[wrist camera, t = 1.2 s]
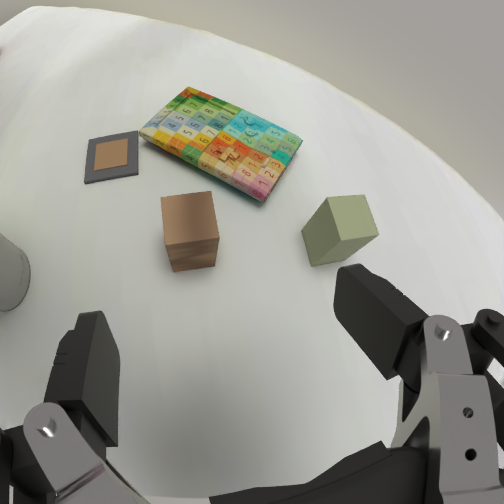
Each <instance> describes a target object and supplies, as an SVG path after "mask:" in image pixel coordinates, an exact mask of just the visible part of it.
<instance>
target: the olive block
mask: <svg viewBox="0 0 504 504" xmlns="http://www.w3.org/2000/svg"><path fill="white" fill-rule="evenodd" d="M301 231H302V235H303V238H304V242H305V245H306V249H307V253H308V256H309V260H310V264H311V266H316V265H322V264H327V263H333V262H338V261H344V260H346V259H347V258H348V257H350V256H351V255H352V254H354V253H355V252H357V251H358V250H359V249H361V248H362V247H363V246H365V245H366V244H367V243H369V242H370V241H371V240H373V239H374V238H375V237H377V236H378V235H379V233H378V230H377V227H376V224H375V222H374V219H373V216H372V213H371V211H370V208H369V205H368V203H367V200H366V197H365V195H351V196H337V197H327V198H326V199H325V201H324V202H323V203H322V204H321V206H320V207H319V208H318V210H317V211H316V212H315V214H314V215H313V216H312V217H311V219H310V220H309V221H308V223H307V224H306V225H305V227H304V228H303V229H302V230H301Z"/></svg>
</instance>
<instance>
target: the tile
mask: <svg viewBox="0 0 504 504" xmlns="http://www.w3.org/2000/svg"><path fill="white" fill-rule="evenodd" d="M133 175H138V131H132V132H126V133H120V134H115V135H109V136H104V137H99V138H95V139H90V140H89V143H88V150H87V158H86V167H85V178H84V183H85V184H89V183H94V182H99V181H105V180H110V179H116V178H121V177H127V176H133Z"/></svg>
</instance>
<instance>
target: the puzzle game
mask: <svg viewBox="0 0 504 504" xmlns="http://www.w3.org/2000/svg"><path fill="white" fill-rule="evenodd" d="M139 134H140V136H141V137H142V138H143V139H145V140H147V141H150V142H152V143H154V144H156V145H158V146H160V147H161V148H162V149H163V150H165V151H167V152H169V153H171V154H173V155H175V156H177V157H179V158H181V159H183V160H185V161H186V162H188V163H190V164H192V165H194V166H196V167H198V168H200V169H202V170H204V171H206V172H207V173H209V174H211V175H213V176H215V177H217V178H219V179H220V180H222V181H224V182H226V183H228V184H230V185H232V186H233V187H235V188H237V189H239V190H241V191H242V192H244V193H246V194H248V195H250V196H251V197H253V198H255V199H257V200H259V201H261V202H265V200H266V199H267V197H268V196H269V194H270V192H271V191H272V189H273V188H274V186H275V185H276V183H277V181H278V180H279V178H280V177H281V175H282V174H283V172H284V170H285V169H286V167H287V166H288V164H289V163H290V161H291V159H292V158H293V156H294V155H295V153H296V152H297V150H298V149H299V147H300V145H301V143H302V141H303V140H302V139H301V138H300V137H298V136H296V135H295V134H293V133H291V132H289V131H287V130H285V129H283V128H281V127H279V126H277V125H275V124H273V123H271V122H269V121H267V120H265V119H263V118H261V117H258V116H256V115H254V114H252V113H250V112H248V111H245V110H243V109H241V108H239V107H237V106H234V105H232V104H230V103H227V102H225V101H223V100H220V99H218V98H216V97H213V96H211V95H208V94H206V93H203V92H201V91H198V90H196V89H193V88H191V87H187V88H186V89H185V90H184V91H182V92H181V93H180V94H179V95H178V96H177V97H175V98H174V99H173V100H172V101H171V102H170V103H169V104H167V105H166V106H165V107H164V108H163V109H162V110H161V111H160V112H159V113H158V114H156V115H155V116H154V117H153V118H152V119H151V120H150V121H149V122H148V123H147V124H146V125H145V126H144V127H143V128H142V129H141V130H140V131H139Z"/></svg>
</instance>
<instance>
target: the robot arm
mask: <svg viewBox="0 0 504 504" xmlns="http://www.w3.org/2000/svg"><path fill="white" fill-rule="evenodd" d="M29 280H30V266H29V262H28V259H27V257H26V255H25V253H24V252H23V251H22V250H21V249H20V248H18V247H17V246H16V245H14V244H13V243H12V242H11V241H9V240H8V239H7V238H6V237H4V236H3V235H2V234H1V233H0V310H1V311H8V310H11V309H13V308H14V307H16V306H17V305H18V304H19V303H20V302H21V301H22V299H23V297H24V296H25V294H26V291H27V289H28V285H29ZM333 306H334V312H335V315H336V318H337V319H338V321H339V322H340V323H341V324H342V326H343V327H344V328H345V329H346V331H347V332H348V333H349V334H350V335H351V337H352V338H353V339H354V340H355V342H356V343H357V344H358V345H359V346H360V348H361V349H362V350H363V351H364V353H365V354H366V355H367V356H368V358H369V359H370V360H371V361H372V363H373V364H374V365H375V366H376V368H377V369H378V370H379V371H380V373H381V374H382V375H383V376H384V378H385V379H386V380H389V379H391V378H393V377H395V376H397V375H400V377H401V378H402V379H401V381H400V384H399V401H398V416H397V427H396V432H395V435H394V438H393V440H392V443H391V447H390V448H386V447H385V445H384V444H383V442H382V441H379V442H377V443H375V444H373V445H371V446H369V447H367V448H365V449H363V450H360V451H358V452H356V453H354V454H352V455H349V456H347V457H345V458H343V459H342V460H341V461H339V462H338V463H336V464H335V465H334V466H332V467H331V468H329V469H328V470H327V471H325V472H324V473H322V474H321V475H319V476H318V477H316V478H315V479H313V480H311V481H310V482H308V483H305V484H299V485H289V486H276V487H256V488H251V489H247V490H243V491H238V492H233V493H228V494H223V495H218V496H212V497H209V500H210V503H211V504H504V469H500V468H499V467H498V450H497V442H498V444H499V445H500V446H501V448H502V449H503V451H504V389H503V388H502V386H501V385H500V384H499V383H498V382H497V381H496V380H495V379H494V377H493V376H492V375H491V374H490V373H489V372H488V371H487V369H488V367H489V365H490V364H491V362H492V360H493V358H495V359H496V360H497V361H498V362H499V363H500V364H501V365H502V366H503V367H504V316H503V315H502V314H500V313H499V312H497V311H494V310H491V309H482V310H480V311H479V312H478V313H477V315H476V318H475V320H474V322H473V323H471V324H464V325H459V323H458V322H456V321H455V320H454V319H452V318H450V317H447V316H443V315H433V316H428V315H427V314H426V313H425V312H424V311H423V310H422V309H420V308H419V307H418V306H417V305H416V304H415V303H414V302H412V301H411V300H410V299H409V298H408V297H407V296H405V295H403V293H402V292H401V291H399V290H398V289H396V288H395V286H393V285H392V284H391V283H390V282H389V281H387V280H386V279H384V278H382V277H380V276H377V275H375V274H372V273H371V272H370V271H369V270H368V269H366V268H365V267H364V266H363V265H361V264H354V265H349V266H345V267H341V268H339V269H338V272H337V279H336V287H335V296H334V304H333ZM56 355H57V356H55V359H54V363H53V364H54V366H52V370H51V373H50V377H49V381H48V385H47V389H46V393H45V398H44V402H43V403H42V404H39V405H37V406H35V407H34V408H32V409H31V410H30V411H29V413H28V414H27V416H26V418H25V420H24V424H23V425H21V426H17V427H14V428H10V429H7V430H2V429H1V428H0V504H9V485H11V486H12V487H14V488H13V489H14V490H13V504H150V503H149V502H148V501H147V500H146V499H145V498H144V497H143V496H142V495H141V494H140V493H138V492H137V491H136V490H135V489H134V487H133V486H132V485H131V484H130V483H129V482H128V481H127V480H126V479H125V478H124V477H123V476H122V475H121V474H120V473H119V472H118V471H117V469H116V468H115V467H114V466H113V465H112V464H111V463H110V461H109V460H108V459H107V458H106V447H118V397H119V376H120V356H119V351H118V348H117V345H116V343H115V340H114V338H113V335H112V333H111V330H110V328H109V325H108V323H107V320H106V318H105V315H104V313H103V312H102V311H94V312H87V313H80V314H79V316H78V319H77V322H76V325H75V329H74V330H69V331H68V332H67V333H66V334H65V336H64V337H63V338H62V340H61V341H60V343H59V346H58V349H57V352H56ZM56 493H57V496H56Z"/></svg>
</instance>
